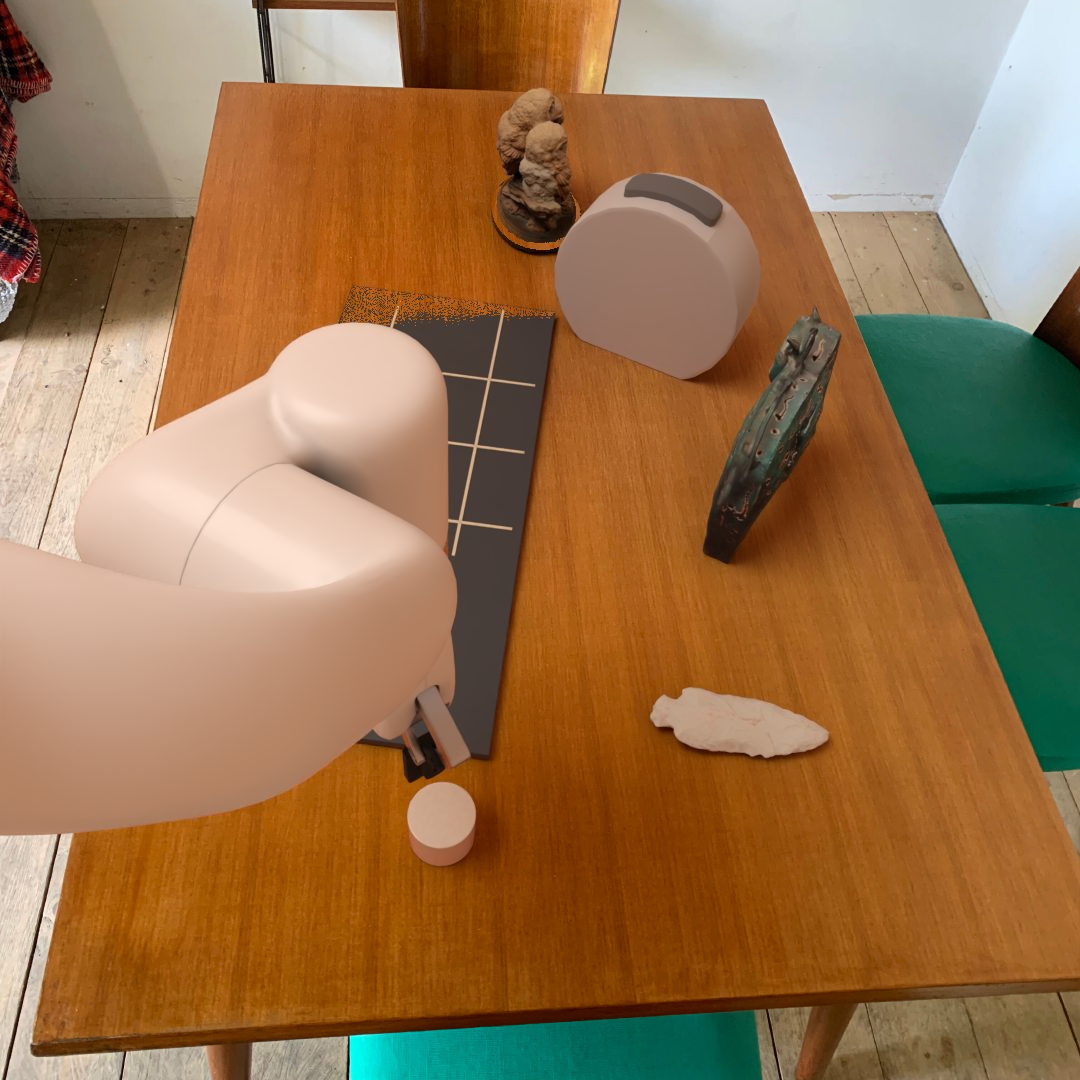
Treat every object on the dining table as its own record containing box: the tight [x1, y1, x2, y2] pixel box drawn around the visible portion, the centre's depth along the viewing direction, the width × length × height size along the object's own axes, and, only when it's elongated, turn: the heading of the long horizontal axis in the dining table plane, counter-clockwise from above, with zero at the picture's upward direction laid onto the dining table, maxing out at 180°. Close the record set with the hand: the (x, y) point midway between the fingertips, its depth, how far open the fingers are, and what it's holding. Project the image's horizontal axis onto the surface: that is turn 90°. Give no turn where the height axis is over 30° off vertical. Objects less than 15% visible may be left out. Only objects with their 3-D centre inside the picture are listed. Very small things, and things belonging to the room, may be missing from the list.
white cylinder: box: [406, 781, 477, 867], centre depth 68 cm, size 5×5×4 cm
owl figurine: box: [490, 87, 576, 253], centre depth 113 cm, size 18×12×17 cm, turn 7°
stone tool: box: [649, 686, 830, 759], centre depth 77 cm, size 6×2×15 cm
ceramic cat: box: [702, 304, 842, 564], centre depth 85 cm, size 20×6×20 cm, turn 152°
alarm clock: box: [554, 172, 762, 380], centre depth 99 cm, size 21×8×20 cm, turn 63°
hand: (391, 708), depth 60 cm, fingers open, 9 cm apart
